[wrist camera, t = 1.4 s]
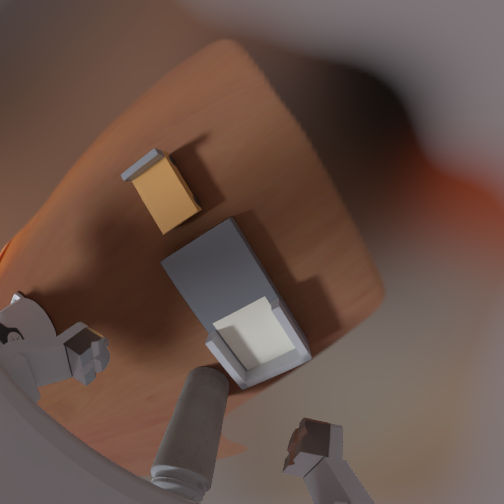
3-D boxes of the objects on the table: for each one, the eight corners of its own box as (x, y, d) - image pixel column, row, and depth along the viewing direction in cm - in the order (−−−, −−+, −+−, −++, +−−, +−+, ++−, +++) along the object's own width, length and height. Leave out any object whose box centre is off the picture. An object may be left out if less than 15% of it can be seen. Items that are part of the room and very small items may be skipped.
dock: (244, 368, 45) (242, 389, 40) (166, 257, 42) (152, 267, 36) (307, 338, 44) (312, 358, 38) (231, 216, 40) (226, 220, 34)
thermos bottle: (193, 398, 48) (154, 518, 20) (182, 367, 46) (126, 494, 19) (233, 397, 47) (212, 527, 20) (224, 365, 45) (192, 506, 18)
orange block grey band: (171, 230, 41) (156, 237, 35) (139, 176, 39) (120, 175, 33) (203, 209, 40) (193, 212, 34) (169, 153, 38) (154, 148, 32)
